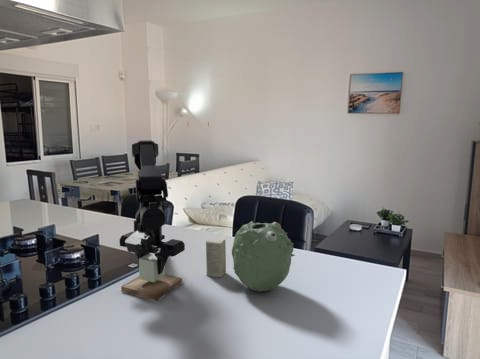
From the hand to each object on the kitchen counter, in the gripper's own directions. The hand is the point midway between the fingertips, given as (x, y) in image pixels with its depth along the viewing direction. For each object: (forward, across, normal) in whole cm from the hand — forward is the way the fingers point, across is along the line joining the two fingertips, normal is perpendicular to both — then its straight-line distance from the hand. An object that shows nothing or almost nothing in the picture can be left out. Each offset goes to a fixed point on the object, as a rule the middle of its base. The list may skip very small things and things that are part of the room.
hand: (152, 272), depth 103 cm
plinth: (+4, 0, 0) cm, 5 cm away
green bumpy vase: (+5, +28, +13) cm, 31 cm away
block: (+2, 0, 0) cm, 2 cm away
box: (+5, +12, +16) cm, 21 cm away
